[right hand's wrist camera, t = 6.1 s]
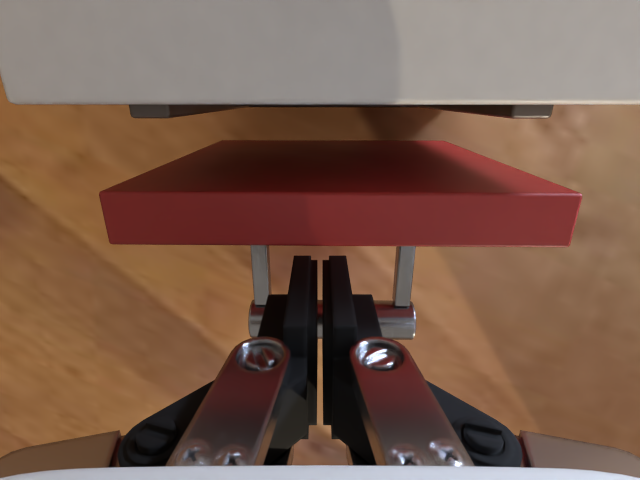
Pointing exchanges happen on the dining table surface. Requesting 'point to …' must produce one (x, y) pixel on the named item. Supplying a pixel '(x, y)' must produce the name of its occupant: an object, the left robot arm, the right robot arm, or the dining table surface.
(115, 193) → the drawer
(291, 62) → the cabinet
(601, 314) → the dining table surface
